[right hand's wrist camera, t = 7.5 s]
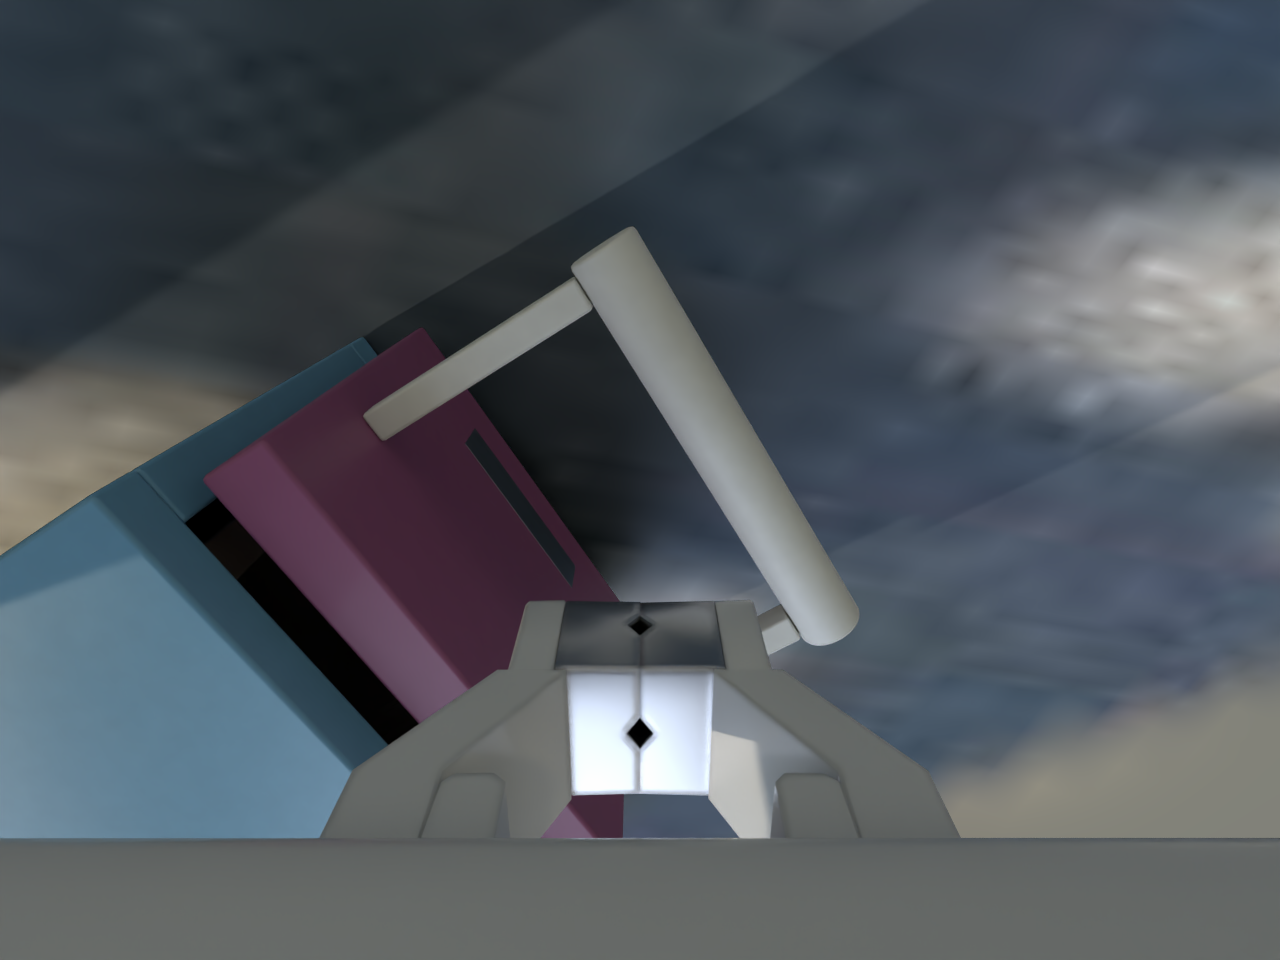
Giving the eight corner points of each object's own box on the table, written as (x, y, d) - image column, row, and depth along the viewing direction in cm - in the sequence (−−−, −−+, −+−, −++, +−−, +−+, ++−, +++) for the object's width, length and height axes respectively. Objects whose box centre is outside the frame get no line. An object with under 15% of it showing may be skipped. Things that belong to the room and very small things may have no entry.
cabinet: (363, 335, 20) (89, 494, 10) (589, 636, 23) (554, 979, 13) (-83, 633, 23) (-623, 976, 13) (172, 858, 27) (-105, 1266, 17)
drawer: (624, 192, 18) (613, 207, 10) (811, 515, 21) (923, 731, 13) (-24, 619, 22) (-411, 879, 14) (212, 835, 25) (7, 1152, 17)
